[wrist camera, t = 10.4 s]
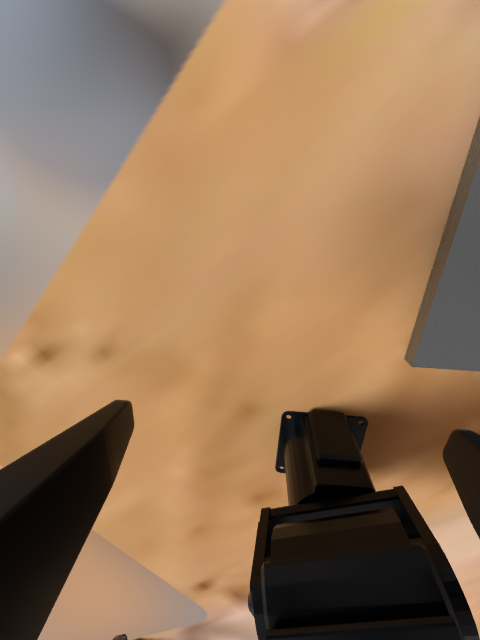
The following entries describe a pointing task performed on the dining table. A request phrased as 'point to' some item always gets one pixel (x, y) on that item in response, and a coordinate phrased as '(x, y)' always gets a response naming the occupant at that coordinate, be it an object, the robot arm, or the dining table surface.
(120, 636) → the coffee press
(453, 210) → the carrier plate
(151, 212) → the dining table surface
